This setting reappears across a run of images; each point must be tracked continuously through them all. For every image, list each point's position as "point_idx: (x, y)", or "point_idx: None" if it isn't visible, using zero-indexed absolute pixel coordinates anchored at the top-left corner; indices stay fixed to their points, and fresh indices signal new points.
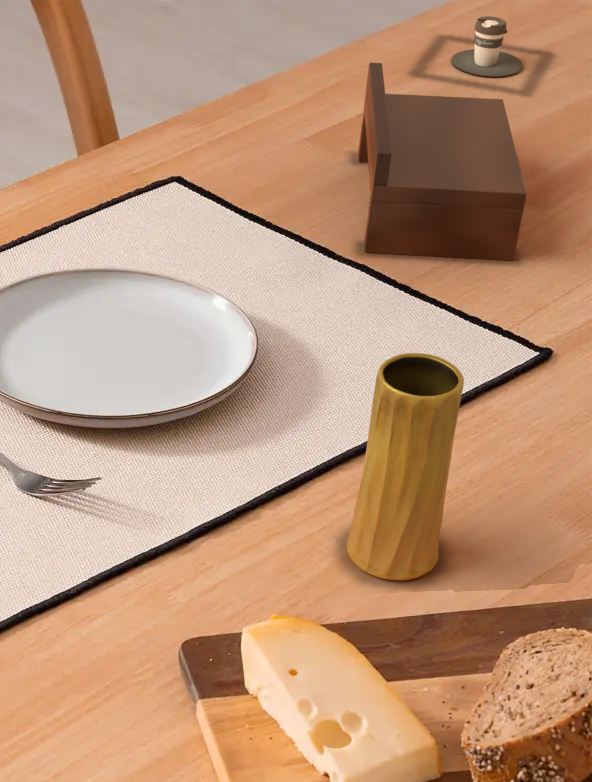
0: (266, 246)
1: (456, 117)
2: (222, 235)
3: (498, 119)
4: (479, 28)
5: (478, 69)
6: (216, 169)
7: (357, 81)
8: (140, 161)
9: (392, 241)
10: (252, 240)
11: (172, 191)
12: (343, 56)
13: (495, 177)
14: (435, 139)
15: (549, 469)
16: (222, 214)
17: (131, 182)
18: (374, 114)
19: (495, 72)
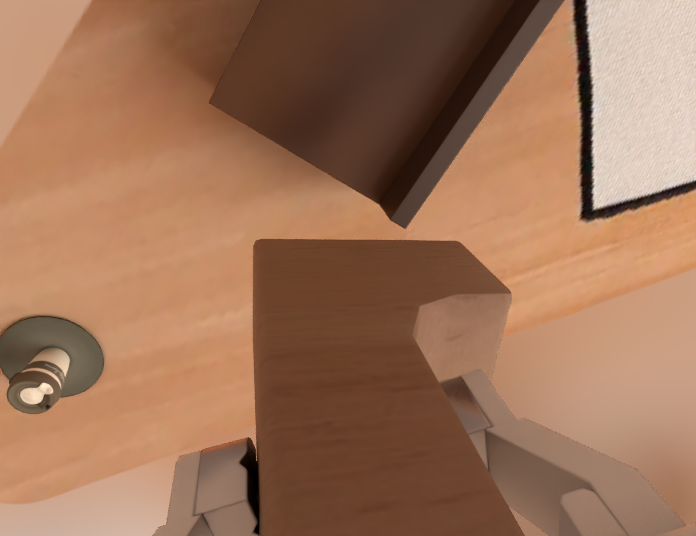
0: (622, 13)
1: (325, 73)
2: (641, 65)
3: (264, 32)
4: (57, 389)
5: (75, 344)
6: (537, 219)
7: (251, 363)
8: (589, 266)
9: None
10: (624, 36)
11: (610, 189)
12: (228, 424)
13: None
14: (408, 13)
15: None
16: (606, 114)
17: (628, 226)
18: (534, 42)
19: (55, 329)
